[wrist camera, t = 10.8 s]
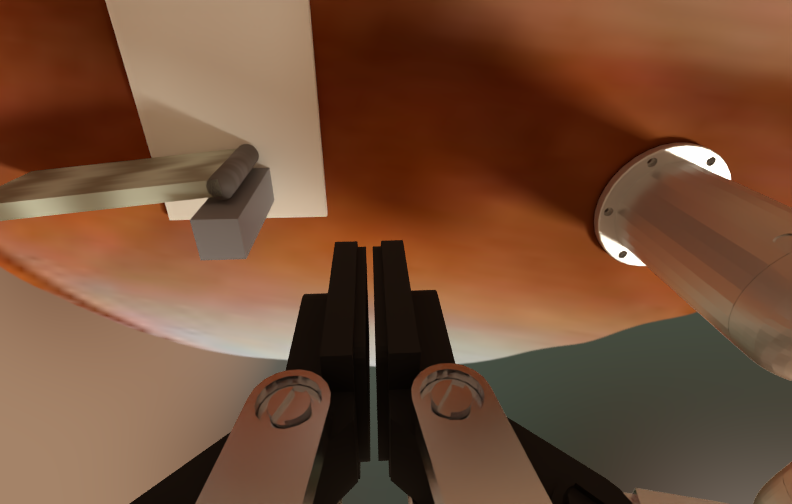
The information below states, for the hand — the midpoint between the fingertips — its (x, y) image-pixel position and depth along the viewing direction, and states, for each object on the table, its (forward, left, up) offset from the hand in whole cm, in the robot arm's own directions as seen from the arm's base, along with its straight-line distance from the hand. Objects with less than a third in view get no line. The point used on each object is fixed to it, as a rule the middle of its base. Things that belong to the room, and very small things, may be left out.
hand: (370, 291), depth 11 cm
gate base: (+11, -3, -27) cm, 29 cm away
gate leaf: (+18, +5, -26) cm, 32 cm away
